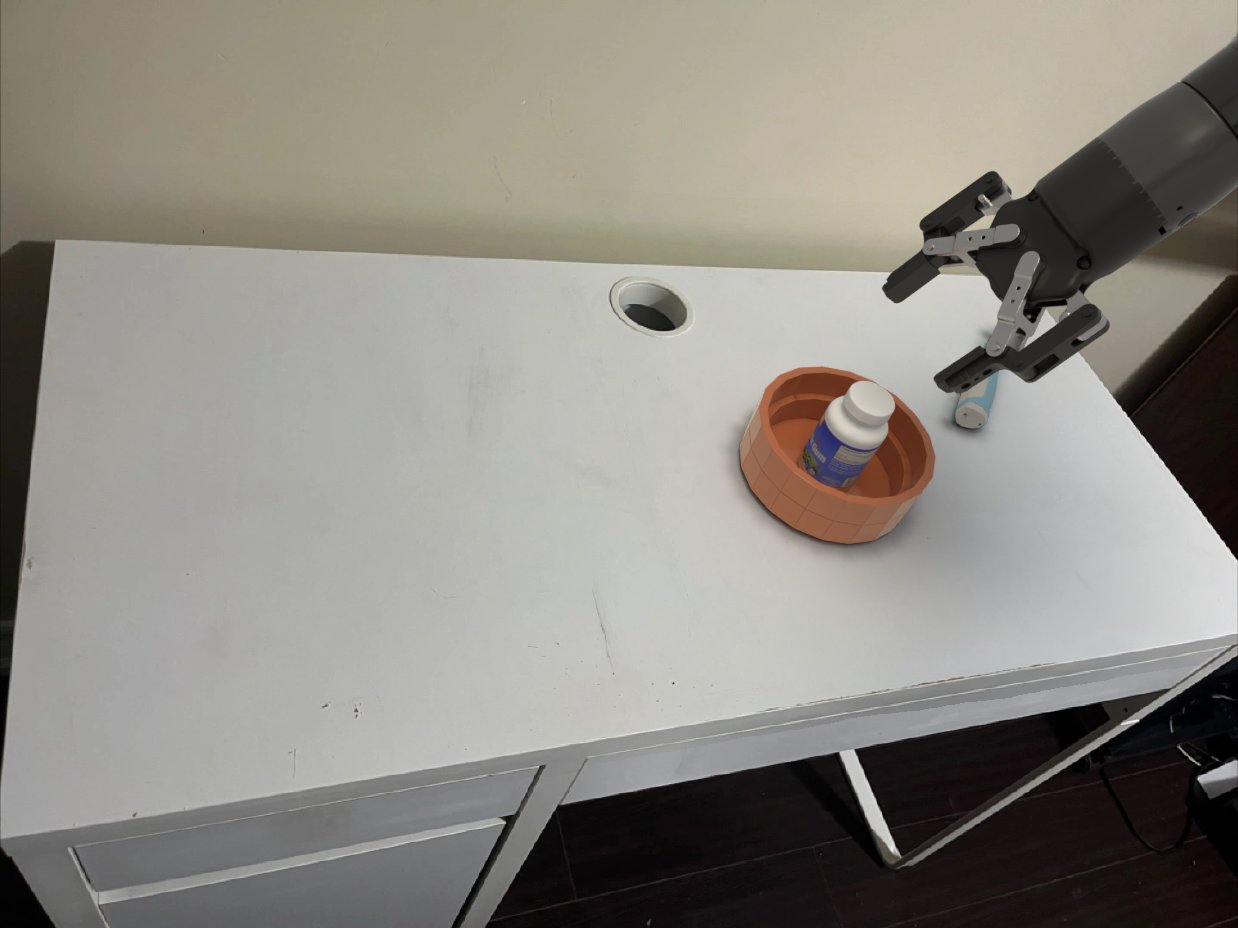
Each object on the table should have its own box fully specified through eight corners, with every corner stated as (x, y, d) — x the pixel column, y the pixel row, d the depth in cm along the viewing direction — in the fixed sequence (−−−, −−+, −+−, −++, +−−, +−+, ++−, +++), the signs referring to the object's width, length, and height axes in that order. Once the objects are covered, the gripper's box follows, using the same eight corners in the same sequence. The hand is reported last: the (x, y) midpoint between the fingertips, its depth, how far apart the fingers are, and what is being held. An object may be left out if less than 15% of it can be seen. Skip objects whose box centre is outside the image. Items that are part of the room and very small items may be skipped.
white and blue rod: (977, 437, 86) (993, 418, 83) (947, 422, 86) (962, 403, 84) (1009, 337, 98) (1023, 318, 96) (983, 324, 99) (996, 305, 96)
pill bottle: (793, 444, 79) (835, 368, 71) (848, 453, 79) (896, 378, 72) (800, 491, 75) (846, 416, 68) (858, 499, 76) (909, 426, 69)
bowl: (929, 479, 80) (961, 437, 76) (856, 580, 71) (888, 538, 66) (791, 387, 84) (814, 342, 80) (705, 470, 75) (725, 424, 71)
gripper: (1059, 80, 54) (847, 249, 62) (1195, 235, 47) (935, 404, 55) (1094, 138, 59) (895, 288, 67) (1222, 286, 52) (981, 433, 60)
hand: (913, 340), depth 61 cm, fingers open, 8 cm apart
